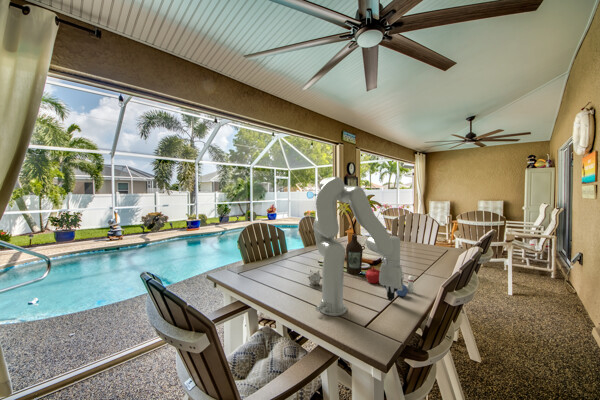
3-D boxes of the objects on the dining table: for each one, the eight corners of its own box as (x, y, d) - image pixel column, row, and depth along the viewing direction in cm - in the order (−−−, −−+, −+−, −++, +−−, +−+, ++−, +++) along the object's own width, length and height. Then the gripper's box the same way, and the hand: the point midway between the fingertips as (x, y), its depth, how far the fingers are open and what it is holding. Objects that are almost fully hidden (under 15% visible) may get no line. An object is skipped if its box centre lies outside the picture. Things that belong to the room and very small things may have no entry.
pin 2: (412, 293, 124) (412, 277, 124) (407, 292, 126) (407, 276, 125) (413, 292, 126) (414, 276, 125) (408, 290, 128) (409, 275, 127)
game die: (316, 292, 134) (316, 282, 128) (304, 284, 138) (304, 274, 132) (324, 280, 139) (325, 271, 133) (313, 273, 143) (313, 263, 137)
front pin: (405, 288, 125) (411, 283, 131) (400, 287, 126) (406, 282, 132) (405, 293, 125) (411, 288, 131) (400, 292, 126) (406, 287, 132)
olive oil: (345, 269, 162) (346, 232, 161) (361, 270, 160) (362, 233, 158) (345, 274, 151) (346, 235, 150) (362, 275, 149) (363, 236, 148)
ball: (410, 293, 122) (404, 300, 119) (398, 288, 127) (393, 295, 123) (409, 284, 120) (404, 292, 117) (397, 279, 124) (392, 287, 121)
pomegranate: (384, 286, 134) (384, 270, 134) (365, 284, 136) (366, 268, 136) (381, 279, 144) (382, 264, 143) (364, 277, 146) (365, 263, 145)
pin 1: (402, 290, 128) (402, 275, 127) (397, 289, 129) (398, 274, 129) (404, 289, 129) (404, 274, 129) (399, 288, 131) (399, 272, 131)
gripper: (373, 260, 116) (372, 297, 117) (404, 267, 106) (403, 307, 107) (380, 257, 122) (379, 292, 122) (410, 263, 111) (409, 302, 112)
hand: (390, 299), depth 115 cm, fingers closed
